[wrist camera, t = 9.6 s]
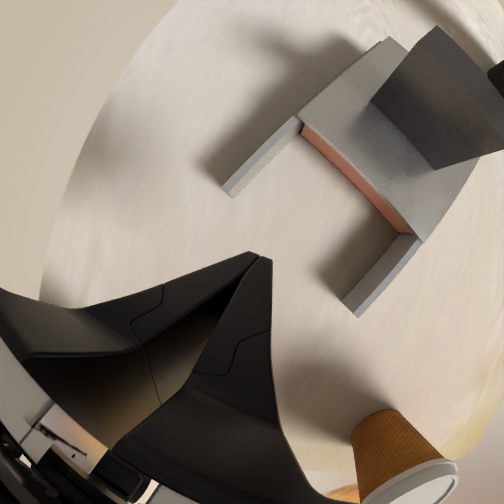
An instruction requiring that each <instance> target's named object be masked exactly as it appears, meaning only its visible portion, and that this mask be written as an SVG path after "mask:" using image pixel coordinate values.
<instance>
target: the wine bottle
mask: <svg viewBox="0 0 504 504" xmlns="http://www.w3.org/2000/svg"><path fill="white" fill-rule="evenodd" d="M488 79H489V80H490V82H491V83H492V84H493V85H494V87H495V88H496V89H497V91H498V92H499V93H500V95H501V96H502V97H503V99H504V60H503V61H502V62H500V63H499V64H497V65H496V66H494V67H493V68H491V69H490V70H489V71H488Z"/></svg>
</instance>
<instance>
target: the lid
mask: <svg viewBox="0 0 504 504" xmlns="http://www.w3.org/2000/svg"><path fill="white" fill-rule="evenodd" d="M297 117H298V118H299V119H300V120H302V121H303V122H304V123H305V124H306V125H307V126H309V127H310V128H311V129H312V130H313V131H314V132H316V133H317V134H318V135H319V136H320V137H321V138H322V139H323V140H325V141H326V142H327V143H328V144H329V145H330V146H331V147H332V148H333V149H334V150H335V151H337V152H338V153H339V154H340V155H341V156H342V157H343V158H344V159H345V160H346V161H347V162H348V163H349V164H350V165H351V166H352V167H353V168H354V169H355V170H356V171H357V172H358V173H359V174H360V175H361V176H362V177H363V178H364V179H365V180H366V181H367V182H368V183H369V184H370V185H371V186H372V187H373V189H374V190H375V191H376V192H377V193H378V194H379V195H380V196H381V197H382V198H383V199H384V201H385V202H386V203H387V204H388V205H389V206H390V207H391V208H392V210H393V211H394V212H395V213H396V214H397V215H398V217H399V218H400V219H401V220H402V221H403V223H404V224H405V225H406V226H407V227H408V229H409V230H410V231H411V232H412V234H413V235H414V236H415V237H416V239H417V240H418V241H419V242H420V243H425V242H426V240H427V239H428V238H429V236H430V235H431V233H432V232H433V231H434V229H435V228H436V227H437V225H438V224H439V222H440V221H441V219H442V218H443V217H444V215H445V214H446V212H447V211H448V209H449V208H450V206H451V205H452V203H453V202H454V200H455V199H456V197H457V195H458V194H459V192H460V191H461V189H462V188H463V186H464V184H465V183H466V181H467V179H468V178H469V176H470V174H471V173H472V171H473V169H474V167H475V166H476V164H477V162H478V160H479V158H480V157H481V156H483V155H486V154H490V153H493V152H496V151H500V150H503V149H504V99H503V97H502V96H501V95H500V93H499V92H498V91H497V89H496V88H495V87H494V85H493V84H492V83H491V82H490V80H489V79H488V78H487V77H486V75H485V74H484V73H483V72H482V71H481V69H480V68H479V67H478V66H477V65H476V64H475V63H474V61H473V60H472V59H471V58H470V57H469V56H468V55H467V54H466V53H465V52H464V51H463V50H462V49H461V48H460V47H459V46H458V45H457V44H456V43H455V42H454V41H453V40H452V39H451V38H450V37H449V36H448V35H447V34H446V33H445V32H444V31H443V30H442V29H441V28H439V27H438V26H435V27H434V28H433V29H432V30H431V31H430V32H428V33H427V34H426V35H425V36H424V37H423V38H421V39H420V40H419V41H418V42H417V43H416V44H415V46H414V47H413V48H412V49H411V51H410V52H408V51H407V50H406V49H405V48H403V47H402V46H401V45H400V44H399V43H397V42H396V41H395V40H394V39H392V38H391V37H390V36H389V37H388V38H386V39H385V40H384V41H382V42H381V43H380V44H378V45H377V46H376V47H375V48H373V49H372V50H371V51H370V52H368V53H367V54H366V55H365V56H363V57H362V58H361V59H360V60H359V61H357V62H356V63H355V64H354V65H352V66H351V67H350V68H349V69H348V70H347V71H345V72H344V73H343V74H342V75H341V76H339V77H338V78H337V79H336V80H335V81H334V82H333V83H331V84H330V85H329V86H328V87H327V88H326V89H325V90H323V91H322V92H321V93H320V94H319V95H318V96H317V97H316V98H314V99H313V100H312V101H311V102H310V103H309V104H308V105H307V106H306V107H305V108H304V109H302V110H301V111H300V112H299V113H298V116H297Z"/></svg>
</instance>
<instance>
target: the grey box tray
mask: <svg viewBox="0 0 504 504" xmlns="http://www.w3.org/2000/svg"><path fill="white" fill-rule="evenodd" d="M380 43H381V41H380V42H378V43H377V44H376V45H374V46H373V47H372V48H371V49H369V50H368V51H367V52H365V53H364V54H363V55H362V56H360V57H359V58H358V59H357V60H356V61H354V62H353V63H352V64H351V65H349V66H348V67H347V68H346V69H345V70H343V71H342V72H341V73H340V74H339V75H338V76H336V77H335V78H334V79H333V80H332V81H331V82H329V83H328V84H327V85H326V86H325V87H324V88H323V89H321V90H320V91H319V92H318V93H317V94H316V95H315V96H314V97H312V98H311V99H310V100H309V101H308V102H307V103H306V104H305V105H304V106H303V107H301V108H300V109H299V110H298V111H297V112H296V113H295V114H294V115H293V116H292V117H291V118H290V119H289V120H288V121H286V122H285V123H284V124H283V125H282V126H281V127H280V128H279V129H278V130H277V131H276V132H275V133H274V134H273V135H272V136H271V137H270V138H269V139H268V140H267V141H266V142H265V143H264V144H263V145H262V146H261V147H260V148H259V149H258V150H257V151H256V152H255V153H254V154H253V155H252V156H251V157H250V158H249V159H248V160H247V161H246V162H245V163H244V164H243V165H242V166H241V167H240V168H239V169H238V170H237V171H236V172H235V173H234V174H233V175H232V176H231V178H230V179H229V180H228V181H227V182H226V183H225V184H224V185H223V186H222V187H221V188H222V189H223V190H225V191H226V192H227V193H228V194H229V195H230V196H231V197H232V198H235V197H236V196H237V195H238V194H239V193H240V192H241V191H242V189H243V188H244V187H245V186H246V185H247V184H248V183H249V182H250V181H251V180H252V179H253V178H254V177H255V176H256V175H257V174H258V173H259V172H260V171H261V170H262V169H263V168H264V167H265V166H266V165H267V164H268V163H269V161H270V160H271V159H272V158H273V157H274V156H275V155H276V154H277V153H278V152H279V151H280V150H281V149H282V148H283V147H284V146H285V145H286V144H287V143H288V142H289V141H290V140H291V139H292V138H294V137H295V136H296V135H297V134H298V133H299V132H300V131H301V130H302V129H303V130H302V133H301V135H302V136H303V137H304V138H306V139H307V140H308V141H309V142H310V143H311V144H312V145H313V146H315V147H316V148H317V149H318V150H319V151H320V152H321V153H322V154H323V155H324V156H326V157H327V158H328V159H329V160H330V161H331V162H332V163H333V164H334V165H335V166H336V167H337V168H338V169H339V170H340V171H341V172H342V173H343V174H344V175H345V176H346V177H347V178H348V179H349V180H350V181H351V182H352V183H353V184H354V185H355V186H356V187H357V188H358V189H359V190H360V191H361V192H362V193H363V194H364V195H365V196H366V197H367V198H368V199H369V200H370V201H371V203H372V204H373V205H374V206H375V207H376V208H377V209H378V210H379V211H380V212H381V214H382V215H383V216H384V217H385V218H386V219H387V220H388V221H389V223H390V224H391V225H392V226H393V227H394V228H395V230H396V231H397V232H400V235H399V236H398V237H397V238H396V240H395V241H394V242H393V243H392V244H391V246H390V247H389V248H388V249H387V250H386V252H385V253H384V254H383V255H382V256H381V257H380V259H379V260H378V261H377V262H376V263H375V264H374V265H373V267H372V268H371V269H370V270H369V271H368V272H367V273H366V274H365V276H364V277H363V278H362V279H361V280H360V281H359V282H358V283H357V284H356V285H355V287H354V288H353V289H352V290H351V291H350V292H349V293H348V294H347V295H346V296H345V297H344V298H343V299H342V300H341V302H342V303H343V304H344V305H345V306H346V307H347V308H348V309H349V310H350V311H351V312H352V313H353V314H354V315H355V316H356V317H357V318H359V317H360V316H361V315H362V314H363V313H364V312H365V311H366V310H367V308H368V307H369V306H370V305H371V304H372V303H373V302H374V301H375V300H376V299H377V298H378V297H379V295H380V294H381V293H382V292H383V291H384V290H385V289H386V288H387V286H388V285H389V284H390V283H391V282H392V281H393V279H394V278H395V277H396V276H397V275H398V274H399V272H400V271H401V270H402V269H403V268H404V266H405V265H406V264H407V263H408V261H409V260H410V259H411V258H412V256H413V255H414V254H415V253H416V251H417V250H418V249H419V247H420V246H421V245H422V244H423V243H420V242H419V241H418V240H417V239H416V237H415V236H414V235H413V234H412V232H411V231H410V230H409V229H408V227H407V226H406V225H405V224H404V223H403V221H402V220H401V219H400V218H399V217H398V215H397V214H396V213H395V212H394V211H393V210H392V208H391V207H390V206H389V205H388V204H387V203H386V202H385V201H384V199H383V198H382V197H381V196H380V195H379V194H378V193H377V192H376V191H375V190H374V189H373V187H372V186H371V185H370V184H369V183H368V182H367V181H366V180H365V179H364V178H363V177H362V176H361V175H360V174H359V173H358V172H357V171H356V170H355V169H354V168H353V167H352V166H351V165H350V164H349V163H348V162H347V161H346V160H345V159H344V158H343V157H342V156H341V155H340V154H339V153H338V152H337V151H335V150H334V149H333V148H332V147H331V146H330V145H329V144H328V143H327V142H326V141H325V140H323V139H322V138H321V137H320V136H319V135H318V134H317V133H316V132H314V131H313V130H312V129H311V128H310V127H309V126H307V125H306V124H305V123H304V122H303V121H302V120H300V119H299V118H298V117H297V116H298V113H299V112H300V111H301V110H302V109H304V108H305V107H306V106H307V105H308V104H309V103H310V102H311V101H312V100H313V99H314V98H316V97H317V96H318V95H319V94H320V93H321V92H322V91H323V90H325V89H326V88H327V87H328V86H329V85H330V84H331V83H333V82H334V81H335V80H336V79H337V78H338V77H339V76H341V75H342V74H343V73H344V72H345V71H347V70H348V69H349V68H350V67H351V66H352V65H354V64H355V63H356V62H357V61H359V60H360V59H361V58H362V57H363V56H365V55H366V54H367V53H368V52H370V51H371V50H372V49H373V48H375V47H376V46H377V45H378V44H380Z"/></svg>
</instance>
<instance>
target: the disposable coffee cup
mask: <svg viewBox="0 0 504 504" xmlns="http://www.w3.org/2000/svg"><path fill="white" fill-rule="evenodd" d="M352 446H353V452H354V458H355V466H356V473H357V481H358V488H359V497H360V504H440V503H441V502H442V501H444V500H445V499H446V498H447V497H448V496H449V494H451V493H452V491H453V490H454V489H455V487H456V486H457V483H458V479H459V478H458V475H457V470H458V467H457V464H456V463H455V462H453V461H450V460H449V459H445V458H444V457H443V456H442V455H441V454H440V453H439V452H438V451H437V450H436V449H435V448H434V447H433V446H432V445H431V444H430V443H429V442H428V441H427V440H426V439H425V438H424V437H423V436H422V435H421V434H420V433H419V432H418V431H417V430H416V429H415V428H414V427H413V426H412V425H411V424H410V423H409V422H408V421H407V420H406V419H405V418H404V417H403V416H402V414H401V413H399V412H398V411H395V410H385V411H381V412H378V413H375V414H373V415H371V416H369V417H368V418H366V419H365V420H364V421H362V422H361V423H360V424H359V425H358V426H357V427H356V429H355V430H354V432H353V434H352Z"/></svg>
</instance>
